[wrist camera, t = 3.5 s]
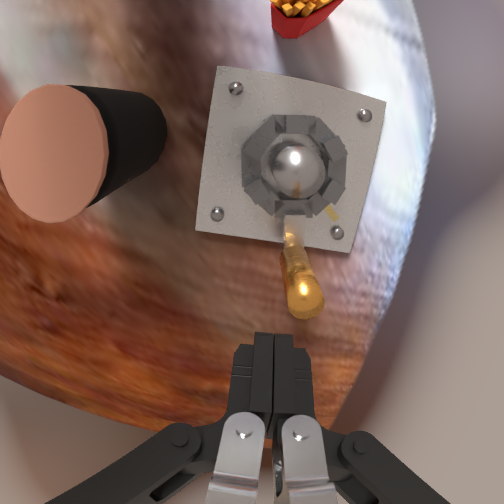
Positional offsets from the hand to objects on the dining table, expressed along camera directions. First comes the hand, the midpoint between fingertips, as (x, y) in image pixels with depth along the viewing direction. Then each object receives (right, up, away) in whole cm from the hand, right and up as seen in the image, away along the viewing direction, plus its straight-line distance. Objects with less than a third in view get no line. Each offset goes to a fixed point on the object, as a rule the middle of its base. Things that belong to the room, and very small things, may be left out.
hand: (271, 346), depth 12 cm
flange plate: (+4, +15, +24) cm, 28 cm away
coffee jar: (-16, +18, +22) cm, 33 cm away
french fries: (+5, +31, +16) cm, 35 cm away
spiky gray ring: (+4, +11, +23) cm, 26 cm away
